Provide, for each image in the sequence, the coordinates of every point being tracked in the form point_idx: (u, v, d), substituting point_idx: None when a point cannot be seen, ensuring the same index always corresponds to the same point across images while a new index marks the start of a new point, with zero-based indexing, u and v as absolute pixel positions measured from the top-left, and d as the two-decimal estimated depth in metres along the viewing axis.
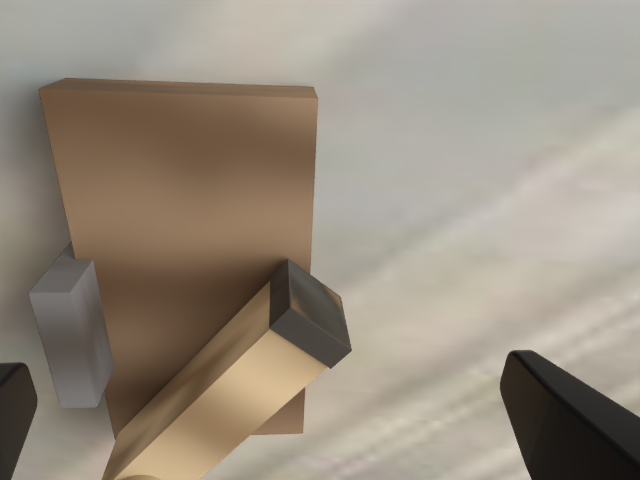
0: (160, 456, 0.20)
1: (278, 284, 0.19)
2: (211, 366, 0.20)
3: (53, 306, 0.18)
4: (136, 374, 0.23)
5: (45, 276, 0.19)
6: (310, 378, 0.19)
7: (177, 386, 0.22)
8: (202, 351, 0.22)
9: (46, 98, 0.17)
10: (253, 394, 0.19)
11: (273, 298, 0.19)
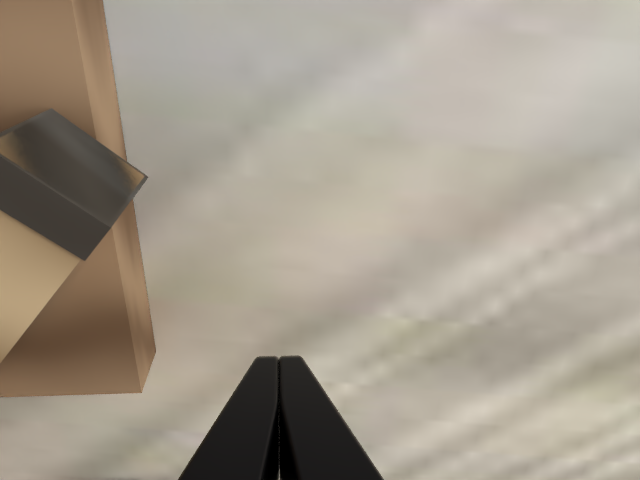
0: None
1: None
2: None
3: None
4: None
5: None
6: (58, 279, 0.12)
7: None
8: None
9: None
10: None
11: None
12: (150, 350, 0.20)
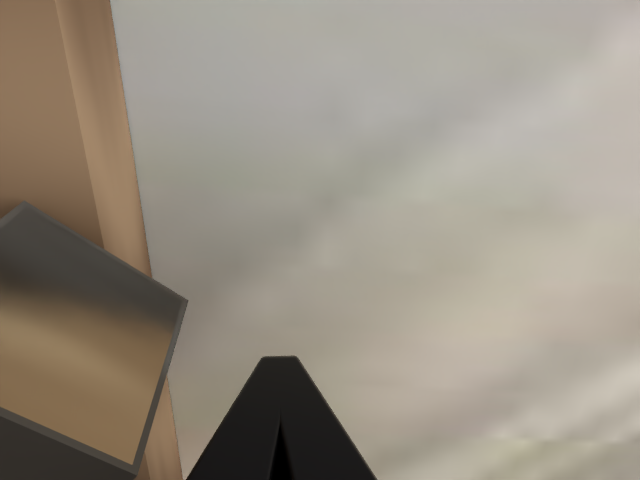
0: None
1: None
2: None
3: None
4: None
5: None
6: None
7: None
8: None
9: None
10: None
11: None
12: None
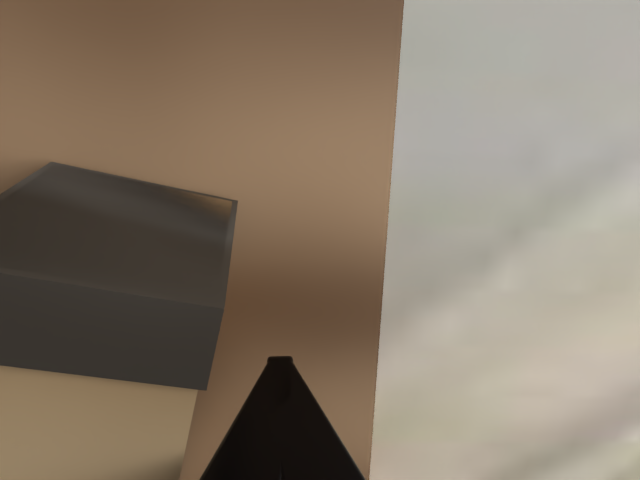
0: None
1: None
2: None
3: None
4: None
5: None
6: (177, 438, 0.06)
7: None
8: None
9: None
10: None
11: None
12: None
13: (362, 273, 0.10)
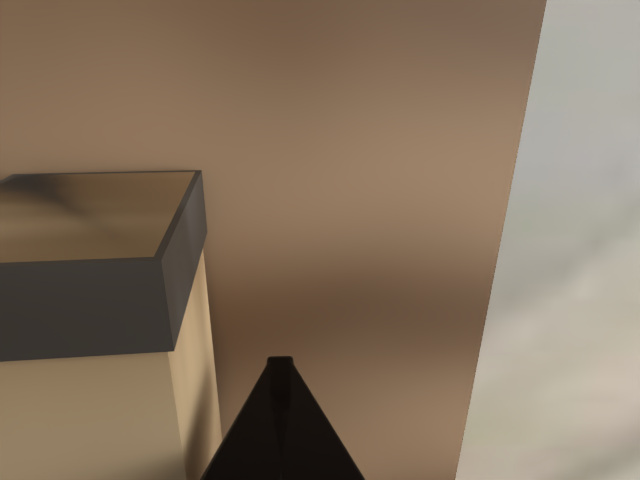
0: None
1: None
2: None
3: None
4: None
5: None
6: (165, 408, 0.06)
7: None
8: None
9: None
10: None
11: None
12: None
13: (472, 280, 0.10)
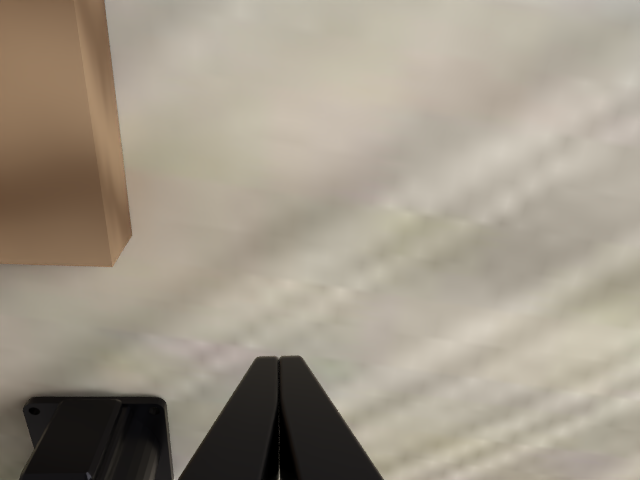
0: None
1: None
2: None
3: None
4: None
5: None
6: None
7: None
8: None
9: None
10: None
11: None
12: (125, 228, 0.18)
13: None
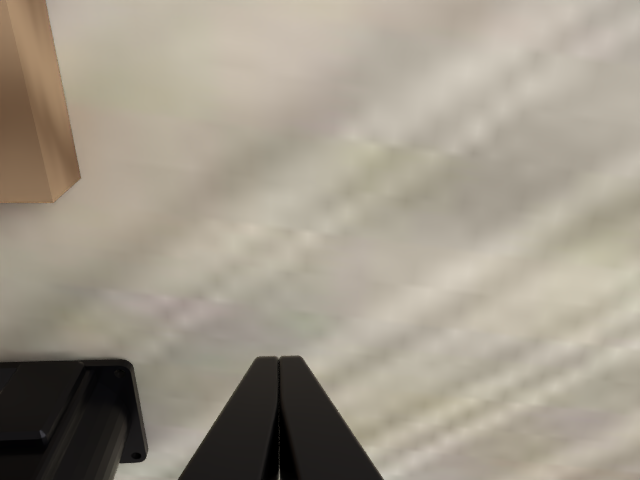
0: None
1: None
2: None
3: None
4: None
5: None
6: None
7: None
8: None
9: None
10: None
11: None
12: (70, 168, 0.17)
13: None
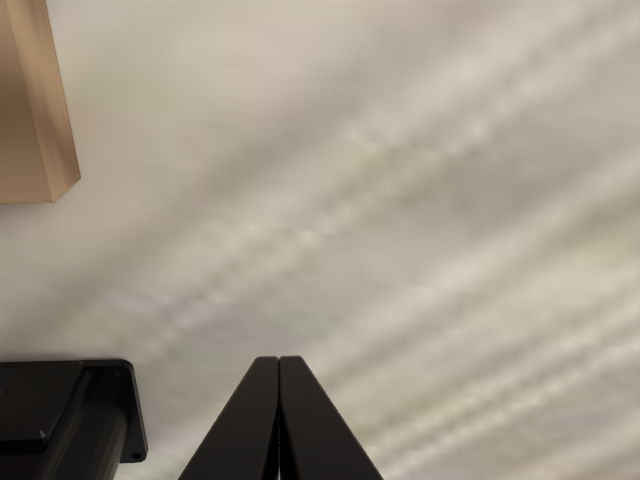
0: None
1: None
2: None
3: None
4: None
5: None
6: None
7: None
8: None
9: None
10: None
11: None
12: (70, 168, 0.17)
13: None
